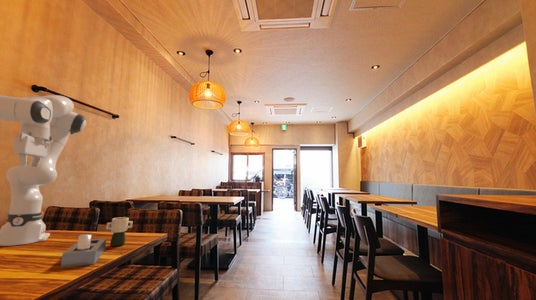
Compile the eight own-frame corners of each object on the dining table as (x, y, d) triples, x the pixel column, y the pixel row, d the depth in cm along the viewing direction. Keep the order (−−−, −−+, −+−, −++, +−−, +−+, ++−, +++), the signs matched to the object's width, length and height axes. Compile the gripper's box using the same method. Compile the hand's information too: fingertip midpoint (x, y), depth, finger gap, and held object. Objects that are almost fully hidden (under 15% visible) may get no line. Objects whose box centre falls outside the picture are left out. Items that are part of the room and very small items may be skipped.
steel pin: (77, 260, 89) (80, 234, 91) (89, 259, 91) (92, 234, 92) (73, 264, 86) (77, 237, 87) (86, 262, 87) (90, 236, 89)
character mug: (130, 242, 117) (133, 216, 119) (130, 245, 111) (133, 218, 113) (104, 244, 111) (108, 217, 113) (103, 248, 105) (106, 220, 107)
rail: (78, 251, 100) (79, 240, 100) (105, 249, 104) (106, 238, 105) (60, 268, 82) (62, 253, 82) (94, 264, 86) (95, 250, 87)
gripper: (32, 130, 88) (26, 165, 86) (54, 138, 106) (49, 167, 105) (10, 128, 86) (3, 164, 84) (36, 137, 104) (31, 167, 102)
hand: (29, 166), depth 94 cm, fingers open, 8 cm apart
